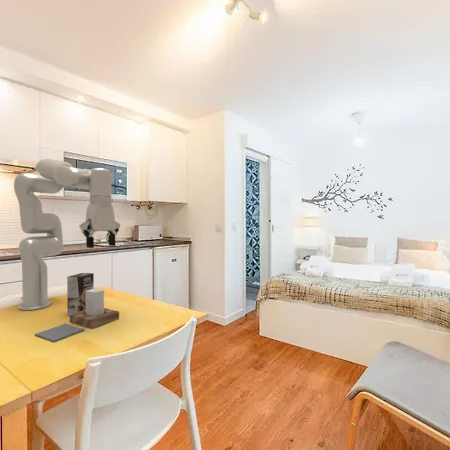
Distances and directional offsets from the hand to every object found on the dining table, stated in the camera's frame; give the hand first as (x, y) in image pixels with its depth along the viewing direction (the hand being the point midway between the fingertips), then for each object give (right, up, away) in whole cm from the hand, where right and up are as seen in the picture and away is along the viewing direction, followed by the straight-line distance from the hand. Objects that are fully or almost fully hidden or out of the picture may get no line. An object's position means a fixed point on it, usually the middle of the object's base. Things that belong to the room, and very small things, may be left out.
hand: (101, 246), depth 109 cm
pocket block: (-4, -30, +4) cm, 30 cm away
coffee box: (-15, -29, +14) cm, 36 cm away
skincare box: (-4, -30, +4) cm, 30 cm away
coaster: (-11, -30, -8) cm, 33 cm away
